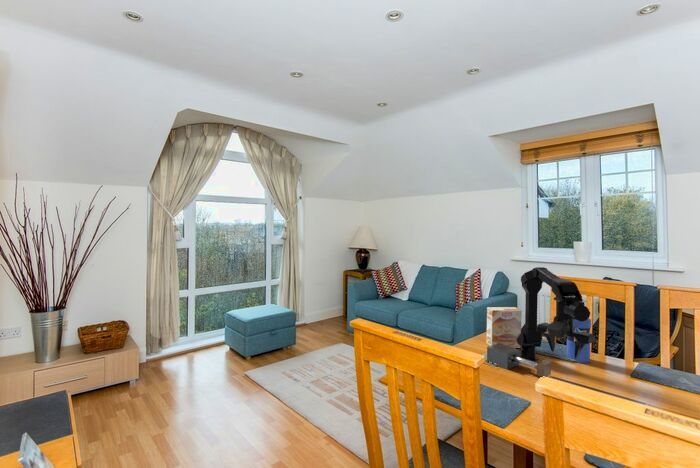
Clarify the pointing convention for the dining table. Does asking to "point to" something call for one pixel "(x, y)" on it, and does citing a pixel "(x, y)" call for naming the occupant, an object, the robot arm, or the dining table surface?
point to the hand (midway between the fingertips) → (564, 354)
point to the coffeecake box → (503, 326)
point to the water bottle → (579, 327)
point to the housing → (502, 355)
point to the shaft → (535, 365)
